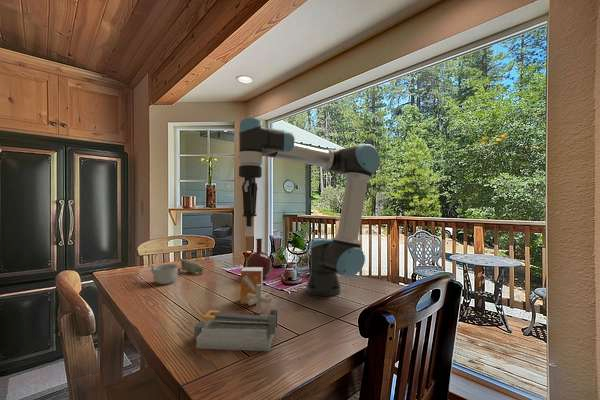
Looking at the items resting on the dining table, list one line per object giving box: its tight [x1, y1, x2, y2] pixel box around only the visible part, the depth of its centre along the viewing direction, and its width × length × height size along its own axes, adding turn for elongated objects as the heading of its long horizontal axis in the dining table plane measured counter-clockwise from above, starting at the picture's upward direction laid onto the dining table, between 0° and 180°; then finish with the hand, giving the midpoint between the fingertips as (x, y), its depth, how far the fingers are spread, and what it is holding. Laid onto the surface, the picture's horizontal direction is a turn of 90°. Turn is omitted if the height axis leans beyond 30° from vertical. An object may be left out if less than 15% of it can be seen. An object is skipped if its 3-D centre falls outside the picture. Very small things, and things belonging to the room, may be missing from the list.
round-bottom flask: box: [245, 238, 273, 278], centre depth 151 cm, size 13×13×20 cm
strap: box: [203, 309, 268, 322], centre depth 84 cm, size 20×5×1 cm, turn 87°
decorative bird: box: [177, 257, 204, 276], centre depth 158 cm, size 5×16×8 cm, turn 65°
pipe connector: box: [247, 284, 272, 315], centre depth 104 cm, size 10×10×10 cm
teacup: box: [150, 263, 179, 286], centre depth 140 cm, size 14×11×8 cm
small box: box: [240, 266, 264, 305], centre depth 115 cm, size 8×6×13 cm
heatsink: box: [193, 308, 279, 352], centre depth 84 cm, size 23×12×8 cm, turn 87°
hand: (249, 235), depth 97 cm, fingers closed
